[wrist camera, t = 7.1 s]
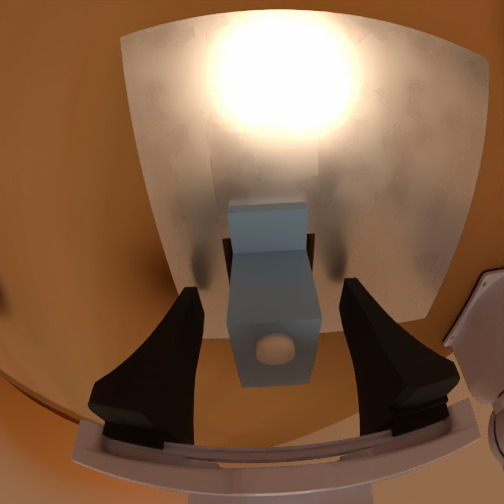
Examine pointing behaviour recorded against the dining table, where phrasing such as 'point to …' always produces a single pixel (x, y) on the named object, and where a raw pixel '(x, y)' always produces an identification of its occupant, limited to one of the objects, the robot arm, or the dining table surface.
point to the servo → (272, 295)
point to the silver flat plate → (309, 147)
